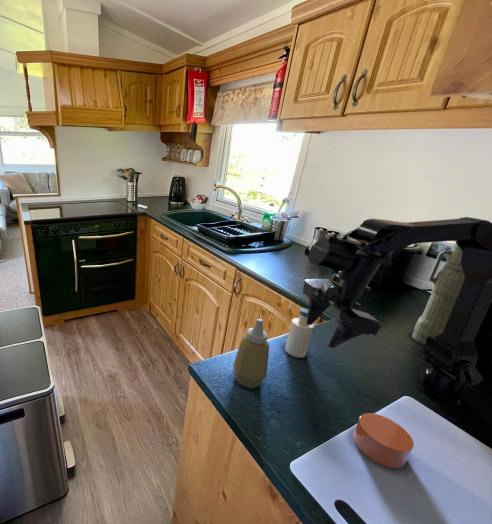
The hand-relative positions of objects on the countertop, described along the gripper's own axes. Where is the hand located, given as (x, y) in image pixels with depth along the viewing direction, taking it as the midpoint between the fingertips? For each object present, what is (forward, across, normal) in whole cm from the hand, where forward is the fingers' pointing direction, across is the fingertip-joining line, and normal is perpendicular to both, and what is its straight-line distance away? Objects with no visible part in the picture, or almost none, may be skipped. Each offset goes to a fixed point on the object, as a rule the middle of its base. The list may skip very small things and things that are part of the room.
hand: (318, 335), depth 68 cm
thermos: (+2, -23, +56) cm, 60 cm away
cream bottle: (+14, -14, +9) cm, 22 cm away
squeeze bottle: (+19, -2, -10) cm, 21 cm away
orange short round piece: (+13, +16, +10) cm, 23 cm away
